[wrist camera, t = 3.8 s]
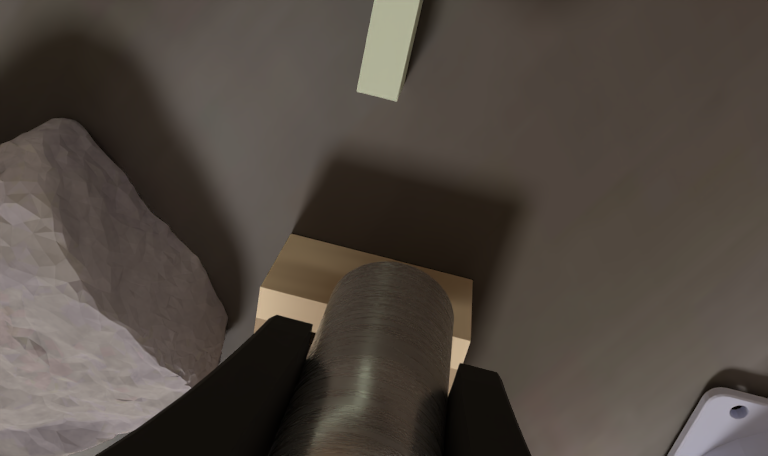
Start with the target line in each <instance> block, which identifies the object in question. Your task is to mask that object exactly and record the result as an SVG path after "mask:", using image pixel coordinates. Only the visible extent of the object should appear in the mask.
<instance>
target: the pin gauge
mask: <svg viewBox="0 0 768 456" xmlns="http://www.w3.org/2000/svg"><path fill="white" fill-rule="evenodd" d="M453 327H454V312H453V308H452V304H451V302H450V299H449V297H448V295H447V294H446V292H445V290H444V289H443V288H442V287H441V285H440V284H439V283H438V282H437V281H436V280H435V279H433V278H432V277H431V276H430V275H428V274H427V273H425V272H423V271H422V270H420V269H417V268H415V267H413V266H410V265H407V264H403V263H398V262H388V261H385V262H374V263H369V264H365V265H362V266H360V267H357V268H355V269H353V270H352V271H350V272H349V273H347V274H346V275H345V276H344V277H343V278H342V279H341V280H340V281H339V282H338V283H337V285H336V286H335V288H334V290H333V292H332V294H331V296H330V299H329V302H328V304H327V307H326V309H325V312H324V314H323V317H322V319H321V322H320V324H319V327H318V330H317V332H316V335H315V337H314V340H313V342H312V345H311V347H310V350H309V353H308V355H307V358H306V361H305V364H304V366H303V369H302V371H301V374H300V376H299V379H298V381H297V384H296V387H295V389H294V392H293V394H292V397H291V399H290V402H289V404H288V407H287V409H286V411H285V414H284V416H283V419H282V421H281V424H280V426H279V429H278V432H277V434H276V437H275V439H274V442H273V444H272V447H271V449H270V452H269V454H268V456H443V452H444V439H445V427H446V414H447V402H448V390H449V377H450V364H451V352H452V339H453Z"/></svg>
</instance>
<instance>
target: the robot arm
mask: <svg viewBox="0 0 768 456" xmlns="http://www.w3.org/2000/svg"><path fill="white" fill-rule="evenodd" d="M312 327H313V324H310V323H306V322H303V321H299V320H295V319H291V318H287V317H284V316H280V315H275V316H273V317H271V318H269V319H268V320H267V321H266V322H265V323H264V324H263V325H262V326H261V327H260V328H259V329H258V330H257V331H256V332H255V333H254V334H253V335H252V336H251V337H250V338H249V339H248V340H247V341H246V342H245V343H244V344H242V345H241V346H240V347H239V348H238V349H237V350H236V351H235V352H234V353H233V354H231V355H230V356H229V357H228V358H227V359H226V360H225V361H224V362H222V363H221V364H220V365H219V366H218V367H216V368H215V369H214V370H213V371H212V372H210V373H209V374H208V375H207V376H206V377H204V378H203V379H202V380H201V381H199V382H198V383H197V384H196V385H195V386H193V387H192V388H191V389H190V390H188V391H187V392H186V393H185V394H183V395H182V396H181V397H179V398H178V399H177V400H175V401H174V402H173V403H171V404H170V405H168V406H167V407H166V408H164V409H163V410H162V411H160V412H159V413H158V414H156V415H155V416H153V417H152V418H151V419H149V420H148V421H147V422H145V423H144V424H143V425H141V426H140V427H138V428H137V429H135V430H134V431H132V432H131V433H129V434H128V435H126V436H125V437H123V438H122V439H121V440H119V441H117V442H116V443H114V444H113V445H111V446H110V447H108V448H107V449H105V450H103V451H102V452H100V453H99V454H97V455H95V456H268V454H269V452H270V449H271V447H272V444H273V442H274V439H275V437H276V434H277V432H278V429H279V426H280V424H281V421H282V419H283V416H284V414H285V411H286V409H287V407H288V404H289V402H290V399H291V397H292V394H293V392H294V389H295V387H296V384H297V381H298V379H299V376H300V374H301V371H302V369H303V366H304V364H305V361H306V358H307V352H308V347H309V342H310V337H311V332H312ZM738 405H741V406H742V407H741V408H739V409H736V410H732V408H733V407H735V406H738ZM443 456H531V454H530V452H529V449H528V447H527V445H526V442H525V440H524V437H523V435H522V432H521V430H520V428H519V425H518V423H517V420H516V418H515V415H514V412H513V410H512V407H511V405H510V402H509V399H508V396H507V394H506V391H505V388H504V385H503V382H502V380H501V378H500V376H499V375H498V373H497V372H493V371H489V370H485V369H482V368H478V367H474V366H470V365H466V364H463V363H460V364H459V366H458V369H457V372H456V375H455V378H454V381H453V384H452V387H451V390H450V393H449V396H448V402H447V414H446V427H445V439H444V452H443ZM667 456H768V398H764V397H760V396H757V395H753V394H749V393H745V392H741V391H737V390H733V389H729V388H724V387H717V388H712V389H711V390H709V391H707V392H706V393H705V394H704V395H703V396H702V398H701V400H700V401H699V403H698V405H697V406H696V408H695V410H694V411H693V413H692V415H691V416H690V418H689V420H688V422H687V423H686V425H685V427H684V428H683V430H682V432H681V433H680V435H679V437H678V438H677V440H676V442H675V443H674V445H673V447H672V448H671V450H670V452H669V453H668V455H667Z"/></svg>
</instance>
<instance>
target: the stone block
mask: <svg viewBox="0 0 768 456" xmlns="http://www.w3.org/2000/svg"><path fill="white" fill-rule="evenodd" d="M227 322H228V316H227V314H226V312H225V309H224V306H223V304H222V303H221V301H220V300H219V298H218V297H217V295H216V293H215V291H214V289H213V287H212V284H211V282H210V280H209V277H208V274H207V272H206V270H205V269H204V268H203V266H202V264H201V262H200V260H199V258H198V257H197V256H196V255H195V254H193V253H192V252H191V251H190V250H189V249H188V247H187V246H186V245H184V244H183V243H182V242H181V241H180V240H179V239H178V238H177V237H176V235H175V234H174V233H173V232H171V230H170V227H169V226H168V225H167V224H166V223H165V222H163V221H162V220H160V219H159V218H158V217H156V216H155V215H153V214H152V213H151V212H150V211H149V209H148V208H147V206H146V205H145V203H144V202H143V201H142V200H141V198H140V197H139V196H138V194H137V192H136V190H135V188H134V186H133V185H132V184H131V183H130V182H129V180H128V178H127V176H126V175H125V173H124V172H123V171H122V170H121V169H120V168H119V167H118V166H117V165H116V164H115V163H114V162H113V161H112V160H111V159H110V158H109V157H108V156H107V155H106V154H105V153H104V152H103V151H102V150H101V149H100V147H99V146H98V145H97V144H96V143H95V142H94V140H93V139H92V138H91V136H90V135H89V133H88V132H87V131H86V129H85V128H84V127H83V126H82V125H81V124H79V123H78V122H77V121H76V120H72V119H66V118H54V119H51V120H49V121H47V122H45V123H43V124H41V125H40V126H38V127H36V128H34V129H32V130H30V131H29V132H26V133H22V134H21V135H19V136H18V137H16V138H14V139H12V140H10V141H8V142H5V143H2V144H1V145H0V456H66V455H70V454H73V453H76V452H80V451H83V450H87V449H89V448H92V447H94V446H96V445H98V444H100V443H103V442H105V441H108V440H110V439H113V438H114V437H115V436H116V435H117V434H123V433H128V432H131V431H134V430H135V429H137V428H138V427H140V426H141V425H143V424H144V423H145V422H147V421H148V420H149V419H151V418H152V417H153V416H155V415H156V414H158V413H159V412H160V411H162V410H163V409H164V408H166V407H167V406H168V405H170V404H171V403H173V402H174V401H175V400H177V399H178V398H179V397H181V396H182V395H183V394H185V393H186V392H187V391H188V390H190V389H191V388H192V387H193V386H195V385H196V384H197V383H198V382H199V381H201V380H202V379H203V378H204V377H206V376H207V375H208V374H209V373H210V372H212V371H213V370H214V369H215V368H216V367H217V366H218V364H219V363H220V357H221V354H222V352H221V350H222V347H223V343H224V340H225V328H226V325H227Z"/></svg>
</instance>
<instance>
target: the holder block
mask: <svg viewBox="0 0 768 456" xmlns="http://www.w3.org/2000/svg"><path fill="white" fill-rule="evenodd" d="M385 261H388V262H398V263H403V264H407V265H410V266H413V267H415V268H417V269H420V270H422V271H423V272H425V273H427V274H428V275H430V276H431V277H432V278H433V279H435V280H436V281H437V282H438V283H439V284H440V285H441V287H442V288H443V289H444V290H445V292H446V294H447V295H448V297H449V299H450V302H451V304H452V308H453V312H454V327H453V339H452V352H451V364H450V377H449V390H448V396H449V393H450V390H451V387H452V384H453V381H454V378H455V375H456V372H457V369H458V366H459V364H460V363H463V362H464V359H465V356H466V353H467V350H468V347H469V345H470V342H471V318H472V288H473V280H471V279H467V278H463V277H459V276H455V275H451V274H447V273H443V272H439V271H436V270H432V269H428V268H424V267H420V266H416V265H412V264H408V263H404V262H400V261H396V260H393V259H389V258H385V257H381V256H377V255H373V254H369V253H365V252H361V251H357V250H353V249H350V248H346V247H342V246H338V245H334V244H330V243H326V242H322V241H318V240H314V239H310V238H307V237H303V236H299V235H295V234H290V236H289V238H288V240H287V241H286V243H285V245H284V246H283V248H282V250H281V252H280V253H279V255H278V257H277V259H276V260H275V262H274V264H273V266H272V267H271V269H270V271H269V273H268V274H267V276H266V278H265V280H264V281H263V283H262V285H261V287H260V293H259V300H258V307H257V314H256V321H255V328H254V333H255V332H256V331H257V330H258V329H259V328H260V327H261V326H262V325H263V324H264V323H265V322H266V321H267V320H268V319H269V318H271V317H273V316H275V315H280V316H284V317H287V318H291V319H295V320H299V321H303V322H306V323H310V324H313V327H312V332H314V333H316V332H317V330H318V327H319V324H320V322H321V319H322V317H323V314H324V312H325V309H326V307H327V304H328V302H329V299H330V296H331V294H332V292H333V290H334V288H335V286H336V285H337V283H338V282H339V281H340V280H341V279H342V278H343V277H344V276H345V275H346V274H347V273H349V272H350V271H352V270H353V269H355V268H357V267H360V266H362V265H365V264H369V263H374V262H385Z"/></svg>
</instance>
